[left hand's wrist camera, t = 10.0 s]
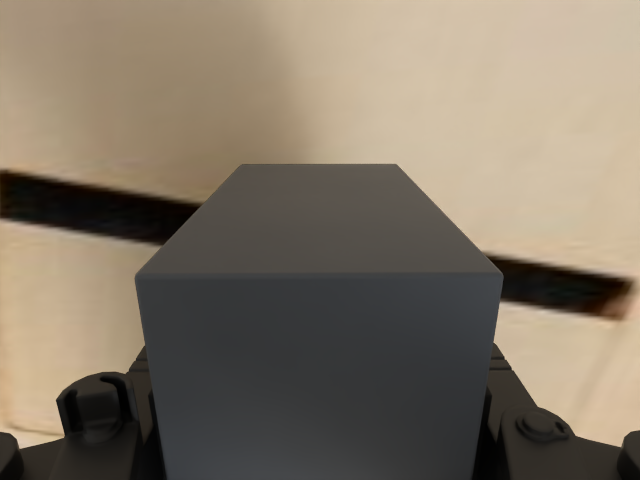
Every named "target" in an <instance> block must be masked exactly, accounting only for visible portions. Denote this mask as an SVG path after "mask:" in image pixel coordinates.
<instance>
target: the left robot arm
mask: <svg viewBox="0 0 640 480" xmlns="http://www.w3.org/2000/svg"><path fill="white" fill-rule="evenodd" d="M56 402H57V406H58V410H59V414H60V418H61V422H62V426H63V429H64V433H65V437H64V438H62V439H59V440H56V441H52V442H48V443H44V444H40V445H35V446H31V447H27V448H23V449H19V445H18V442H17V439H16V438H15V437H13V436H12V435H11V434H10V433H4V432H0V480H167V476H166V470H165V464H164V458H163V452H162V445H161V439H160V433H159V427H158V421H157V414H156V408H155V402H154V396H153V390H152V383H151V377H150V371H149V365H148V359H147V352H146V346H144V347H143V349H142V350H141V352H140V353H139V355H138V356H137V358H136V361H134V362H133V364H132V365H131V367H130V368H129V372H127V373H126V374H123V373H119V372H101V373H97V374H93V375H89V376H87V377H84V378H82V379H80V380H78V381H76V382H74V383H72V384H71V385H70V386H68V387H67V388H66V389H64V390H63V391H62V392H61V394H60V395H59V397H58V398H57V399H56ZM472 480H640V430H639V431H633V432H630V433H629V434H628V435H627V436H625V437H624V440H623V443H622V447H617V446H613V445H608V444H604V443H600V442H595V441H591V440H587V439H584V438H581V437H577V436H575V434H574V433H573V431H572V429H571V428H570V426H569V425H568V424H567V423H566V422H565V421H563V420H562V419H561V418H560V417H559V416H557V415H555V414H553V413H551V412H549V411H548V410H546V409H543V408H539V407H537V405H536V404H535V402H534V401H533V399H532V398H531V396H530V395H529V393H528V392H527V390H526V389H525V387H524V386H523V384H522V383H521V381H520V380H519V378H518V377H517V375H516V374H515V372H514V371H512V368H511V366H510V365H509V363H508V362H507V360H505V358H504V356H503V354H502V353H501V351H500V350H499V348H498V347H497V345H496V344H495V343H493V348H492V354H491V360H490V367H489V373H488V380H487V386H486V392H485V399H484V405H483V412H482V418H481V425H480V431H479V437H478V444H477V450H476V457H475V463H474V469H473V476H472Z"/></svg>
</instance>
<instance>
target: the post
mask: <svg viewBox="0 0 640 480" xmlns="http://www.w3.org/2000/svg"><path fill="white" fill-rule="evenodd" d="M135 284H136V291H137V297H138V303H139V309H140V315H141V321H142V328H143V334H144V340H145V346H146V352H147V359H148V365H149V371H150V377H151V383H152V390H153V396H154V402H155V408H156V414H157V421H158V427H159V433H160V439H161V445H162V452H163V458H164V464H165V470H166V476H167V480H472V476H473V469H474V463H475V457H476V450H477V444H478V437H479V431H480V425H481V418H482V412H483V405H484V399H485V392H486V386H487V380H488V373H489V367H490V360H491V354H492V348H493V341H494V335H495V328H496V322H497V316H498V309H499V303H500V296H501V290H502V284H503V274H502V272H501V271H500V270H499V269H498V268H497V267H496V266H495V265H494V264H493V263H492V262H491V261H490V260H489V259H488V258H487V257H486V256H485V255H484V254H483V253H482V252H481V251H480V250H479V249H478V248H477V247H476V246H475V245H474V244H473V243H472V242H471V241H470V239H469V238H468V237H467V236H466V235H465V234H464V233H463V232H462V231H461V230H460V229H459V228H458V227H457V226H456V225H455V224H454V223H453V222H452V221H451V220H450V219H449V218H448V217H447V216H446V215H445V214H444V213H443V212H442V211H441V210H440V209H439V208H438V207H437V205H436V204H435V203H434V202H433V201H432V200H431V199H430V198H429V197H428V196H427V195H426V194H425V193H424V192H423V191H422V190H421V189H420V188H419V187H418V186H417V185H416V184H415V183H414V182H413V181H412V180H411V179H410V178H409V177H408V176H407V175H406V174H405V173H404V171H403V170H402V169H401V168H400V167H399V166H398V165H397V164H242V165H240V166H239V167H238V168H237V169H236V170H235V171H234V172H233V173H232V174H231V176H230V177H229V178H228V179H227V180H226V181H225V182H224V183H223V184H222V185H221V186H220V187H219V188H218V189H217V190H216V191H215V192H214V193H213V194H212V195H211V196H210V197H209V198H208V199H207V201H206V202H205V203H204V204H203V205H202V206H201V207H200V208H199V209H198V210H197V211H196V212H195V213H194V214H193V215H192V216H191V217H190V218H189V219H188V220H187V221H186V222H185V223H184V225H183V226H182V227H181V228H180V229H179V230H178V231H177V232H176V233H175V234H174V235H173V236H172V237H171V238H170V239H169V240H168V241H167V242H166V243H165V244H164V245H163V246H162V247H161V248H160V250H159V251H158V252H157V253H156V254H155V255H154V256H153V257H152V258H151V259H150V260H149V261H148V262H147V263H146V264H145V265H144V266H143V267H142V268H141V269H140V270H139V271H138V272H137V273H136V275H135Z"/></svg>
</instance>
